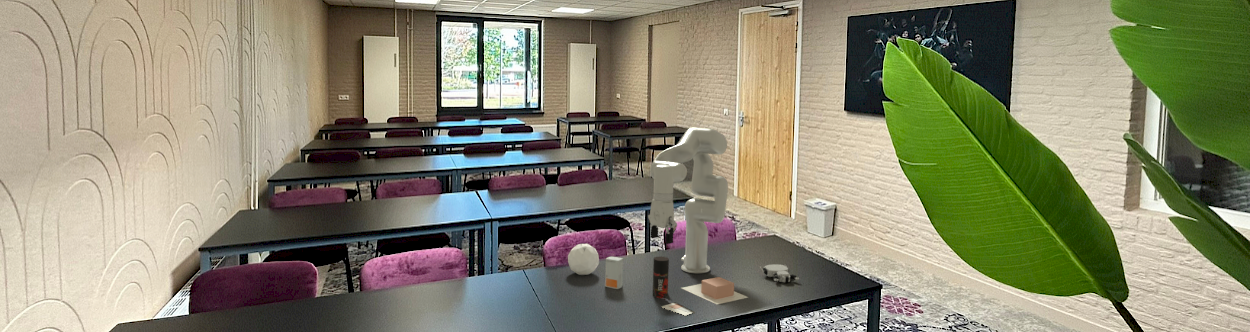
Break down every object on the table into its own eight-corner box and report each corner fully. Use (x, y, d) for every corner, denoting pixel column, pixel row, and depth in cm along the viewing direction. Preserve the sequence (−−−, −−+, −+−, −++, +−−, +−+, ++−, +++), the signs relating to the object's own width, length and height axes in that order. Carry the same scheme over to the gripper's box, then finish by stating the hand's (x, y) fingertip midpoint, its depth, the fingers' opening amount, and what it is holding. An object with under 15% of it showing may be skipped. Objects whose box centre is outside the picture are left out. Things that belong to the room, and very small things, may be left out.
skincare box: (604, 287, 293) (605, 258, 291) (609, 284, 297) (610, 255, 295) (617, 289, 290) (618, 260, 288) (622, 286, 294) (623, 258, 292)
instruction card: (661, 307, 271) (661, 306, 271) (677, 302, 277) (677, 301, 277) (685, 316, 263) (685, 315, 263) (701, 310, 269) (701, 309, 269)
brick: (701, 292, 286) (701, 280, 285) (718, 288, 291) (719, 276, 290) (716, 299, 279) (716, 286, 278) (733, 295, 284) (734, 283, 283)
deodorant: (655, 298, 281) (656, 261, 278) (650, 293, 286) (651, 256, 284) (669, 297, 282) (671, 260, 280) (664, 292, 288) (666, 256, 286)
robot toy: (800, 285, 304) (783, 272, 318) (801, 275, 303) (784, 262, 317) (773, 287, 301) (758, 274, 315) (774, 277, 300) (759, 264, 314)
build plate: (680, 290, 291) (680, 287, 291) (711, 284, 300) (711, 281, 300) (716, 307, 273) (716, 304, 273) (748, 299, 282) (748, 297, 282)
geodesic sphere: (607, 266, 302) (600, 236, 308) (575, 269, 297) (569, 238, 303) (597, 278, 314) (591, 248, 320) (567, 281, 309) (561, 251, 315)
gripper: (642, 194, 283) (640, 236, 286) (668, 201, 269) (667, 246, 271) (657, 192, 287) (656, 234, 290) (684, 200, 273) (683, 244, 276)
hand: (661, 240), depth 281 cm, fingers open, 9 cm apart
